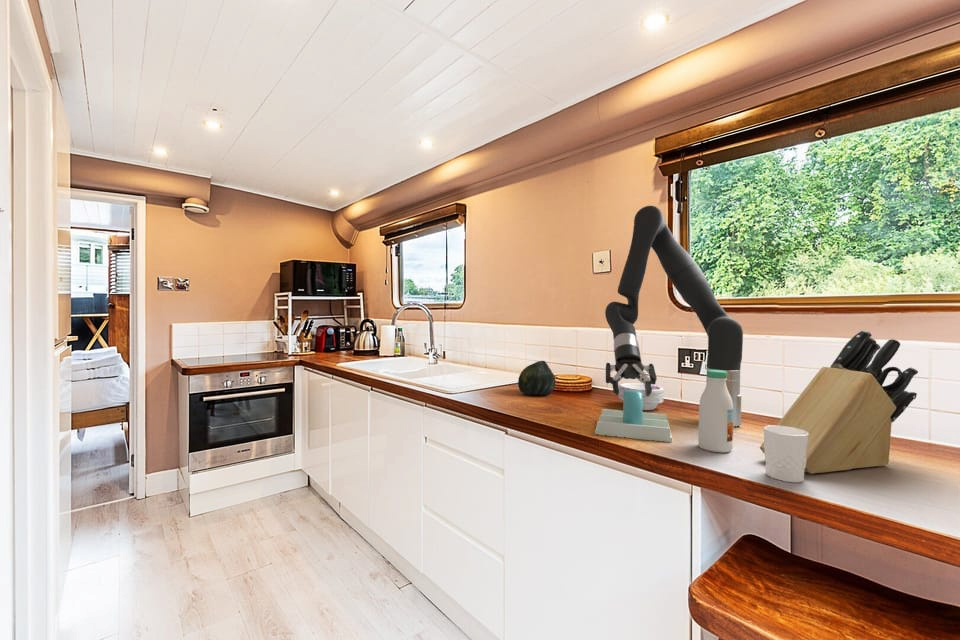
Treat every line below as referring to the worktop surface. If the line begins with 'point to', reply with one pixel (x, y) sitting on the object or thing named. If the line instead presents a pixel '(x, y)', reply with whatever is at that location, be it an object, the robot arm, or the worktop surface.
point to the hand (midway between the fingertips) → (632, 394)
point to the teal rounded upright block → (633, 407)
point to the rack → (634, 426)
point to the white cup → (785, 452)
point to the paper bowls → (644, 394)
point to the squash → (537, 379)
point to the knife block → (851, 407)
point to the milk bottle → (716, 414)
